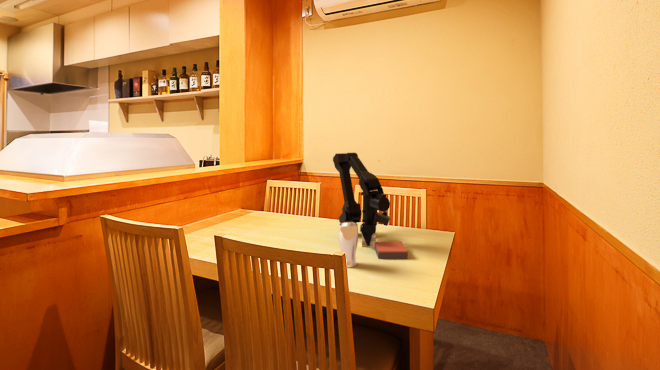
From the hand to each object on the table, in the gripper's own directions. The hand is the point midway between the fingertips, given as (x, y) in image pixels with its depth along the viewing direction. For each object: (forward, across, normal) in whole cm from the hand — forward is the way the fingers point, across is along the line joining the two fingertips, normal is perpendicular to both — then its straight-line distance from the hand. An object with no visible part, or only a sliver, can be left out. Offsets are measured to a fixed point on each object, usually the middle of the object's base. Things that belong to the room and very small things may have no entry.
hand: (369, 242), depth 141 cm
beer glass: (+1, -23, +6) cm, 24 cm away
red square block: (+2, -9, -9) cm, 13 cm away
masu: (+1, 0, 0) cm, 1 cm away
